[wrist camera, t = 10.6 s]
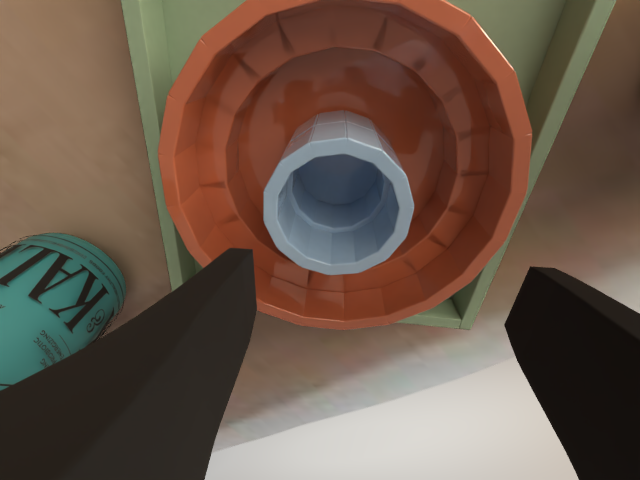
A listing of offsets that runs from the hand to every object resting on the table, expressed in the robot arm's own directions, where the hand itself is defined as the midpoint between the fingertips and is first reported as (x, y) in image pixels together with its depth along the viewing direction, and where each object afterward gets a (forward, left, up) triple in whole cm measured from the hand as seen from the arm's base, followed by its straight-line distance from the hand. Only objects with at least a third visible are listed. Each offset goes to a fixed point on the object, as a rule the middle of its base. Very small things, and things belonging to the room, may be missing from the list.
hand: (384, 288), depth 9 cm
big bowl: (+1, -1, -9) cm, 9 cm away
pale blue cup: (+1, -1, -8) cm, 9 cm away
